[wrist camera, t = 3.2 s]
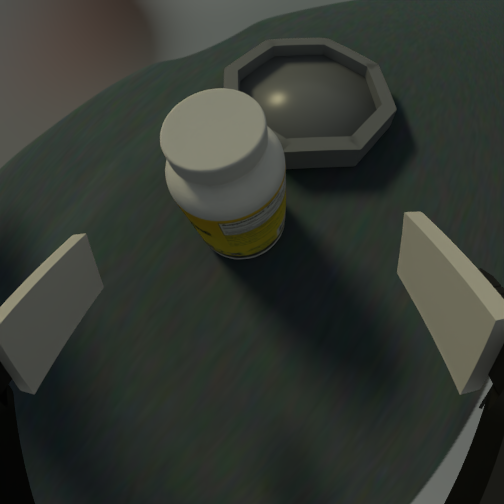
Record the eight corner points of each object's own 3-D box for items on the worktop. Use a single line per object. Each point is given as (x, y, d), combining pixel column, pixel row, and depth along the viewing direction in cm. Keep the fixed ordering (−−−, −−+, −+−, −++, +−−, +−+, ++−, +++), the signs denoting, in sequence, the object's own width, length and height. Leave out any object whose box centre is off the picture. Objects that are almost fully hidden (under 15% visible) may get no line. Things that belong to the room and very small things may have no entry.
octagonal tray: (228, 174, 25) (222, 157, 22) (228, 61, 29) (224, 43, 26) (401, 166, 23) (410, 150, 21) (363, 56, 27) (366, 39, 25)
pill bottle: (190, 201, 24) (133, 107, 14) (266, 171, 24) (252, 61, 14) (216, 275, 22) (159, 212, 12) (299, 242, 22) (310, 153, 12)
